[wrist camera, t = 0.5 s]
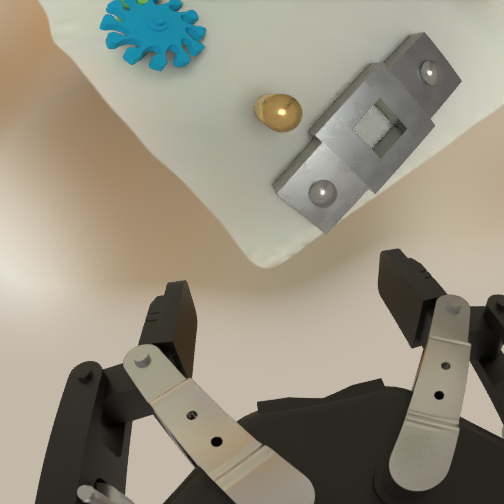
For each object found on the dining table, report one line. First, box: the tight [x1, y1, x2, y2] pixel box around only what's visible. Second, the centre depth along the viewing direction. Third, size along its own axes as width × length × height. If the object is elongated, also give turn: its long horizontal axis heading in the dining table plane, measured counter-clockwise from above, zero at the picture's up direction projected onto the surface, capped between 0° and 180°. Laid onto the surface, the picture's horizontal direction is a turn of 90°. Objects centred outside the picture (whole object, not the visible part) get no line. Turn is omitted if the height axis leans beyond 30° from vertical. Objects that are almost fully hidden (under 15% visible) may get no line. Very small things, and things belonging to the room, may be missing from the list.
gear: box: [100, 0, 206, 71], centre depth 23 cm, size 11×6×10 cm
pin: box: [255, 94, 302, 132], centre depth 26 cm, size 3×3×8 cm
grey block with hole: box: [273, 32, 462, 234], centre depth 30 cm, size 24×9×4 cm, turn 140°
